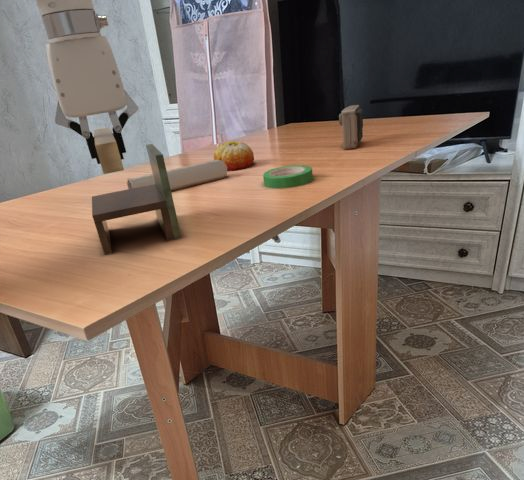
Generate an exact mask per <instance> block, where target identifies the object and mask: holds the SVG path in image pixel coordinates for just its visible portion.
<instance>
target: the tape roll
mask: <svg viewBox="0 0 524 480" xmlns="http://www.w3.org/2000/svg"><path fill="white" fill-rule="evenodd" d="M262 176H263V177H262V178H263V186H264V187H266V188H270V189H288V188H295V187H300V186H303V185H304V186H305V185H307V184H309V183H311V182H312V181H313V180H314V179H313V178H314V177H313V168H312V166H309V165H305V164H293V165H285V166H279V167H275V168H271V169H268V170H267V171H264V173H262Z"/></svg>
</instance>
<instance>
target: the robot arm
mask: <svg viewBox="0 0 524 480" xmlns="http://www.w3.org/2000/svg"><path fill="white" fill-rule="evenodd" d="M35 1H36V4H37V7H38V10H39V14H40V17H41V20H42V23H43V26H44V30H45V32H46V36H47V40H48V43H46V44H45V52H46V58H47V64H48V68H49V72H50V75H51V80H52V84H53V87H54V91H55V94H56V97H57V98H56V99H57V104H56V110H55V118H54V123H55V124H56V125H58V126H61V127H64V128H67V129H70V130H72V131H74V132H75V133H77V134H78V135H80V136H81V137H83V138H84V139H85V142H86V145H87V149H88V152H89V155H90V159H91V160H95V161H96V163H97V165H101V164H100V160H99V157H98V154H97V150H96V147H95V140H94V134H93V132H92V131H90V126H89V120H88V116H94V115H99V114H106V113H107V114H108V117H109V119H110V123H111V125H112V129H111V131H112V134H113V136H114V138H115V140H116V143H117V146H118V150H119V154H120V157H121V161H122V160H125V158H124V154H126V153H127V149H126V145H125V142H124V137H123V135H122V131H123V129H124V128H125V125H126V124H127V122H128V121H129V119H130V118H132V117H133V115H134V114H136V113H137V112H138V111H139V106H138V105H137V104H136V102H135V101H134V100H133V98H132V97H131V96H130V95H129V93H128V92H127V91H126V90H125V87H124V84H123V81H122V77H121V74H120V70H119V68H118V64H117V61H116V59H115V56H114V53H113V50H112V46H111V44H110V43H109V40H108V38H107V36H105V35H102V34H101V31H102V29H104V27H109V22H108V18H107V15H105V14H104V15H101V14H98V13H96V10H95V7H94V3H93V0H35ZM124 108H125V109H124ZM123 109H124V110H123ZM121 110H123V111H122V112H121V113H120V114H119V116H118V113H117V111H121ZM67 117H68V118H67ZM70 118H73V119H74V118H75V119H76V118H78V122H79V123H78V122H77V121H76V120H72V119H70Z"/></svg>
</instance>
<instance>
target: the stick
mask: <svg viewBox="0 0 524 480" xmlns="http://www.w3.org/2000/svg"><path fill="white" fill-rule="evenodd" d="M112 133H113V130H112V129H111V128H110V127H104V128H98V129H93V137H94V140H95V147H96V150H97V154H98V157H99V160H100V164H99V165H100V168H101V170H102V173H103V175H107V174H111V173H112V174H113V173H117V172H121V171H122V172H123V171H124V170H125V169H124V168H125V167H124V165H123V162H122V160H121V157H120V154H119V150H118V146H117V143H116V140H115V138H114V136H113V134H112Z"/></svg>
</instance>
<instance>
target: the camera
mask: <svg viewBox="0 0 524 480" xmlns="http://www.w3.org/2000/svg"><path fill="white" fill-rule="evenodd" d="M363 112H364V110H363V108H361V107H360V105H359V104H353V105H349V106H347V107H344V108H343V109H342V110H341V113H339V115H338V120H339V121H338V122H339V125H340V126H341V129H342V130H341V131H342V148H343V150H353V149H356V148H357V147H358V146H359V144H360V142H361V141H362V140H363V136H364V133H363V128H364V115H363V114H364V113H363Z"/></svg>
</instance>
